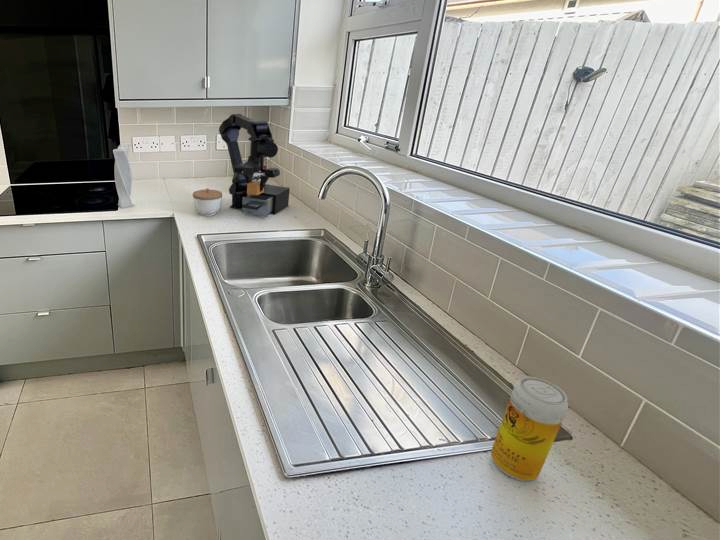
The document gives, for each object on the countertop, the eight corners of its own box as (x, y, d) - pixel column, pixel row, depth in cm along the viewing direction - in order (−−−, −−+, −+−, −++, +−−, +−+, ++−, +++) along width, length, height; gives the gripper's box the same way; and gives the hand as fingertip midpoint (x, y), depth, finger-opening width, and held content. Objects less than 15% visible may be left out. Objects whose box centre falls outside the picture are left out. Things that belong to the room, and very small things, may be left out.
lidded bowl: (192, 209, 182) (191, 185, 178) (220, 208, 183) (220, 184, 179) (193, 218, 170) (193, 193, 166) (223, 217, 171) (224, 192, 167)
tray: (261, 219, 166) (262, 204, 163) (237, 215, 172) (237, 199, 169) (279, 208, 179) (280, 194, 177) (256, 204, 185) (256, 190, 183)
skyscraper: (130, 202, 192) (125, 142, 182) (137, 205, 187) (132, 144, 176) (114, 204, 188) (109, 143, 178) (121, 208, 182) (115, 146, 172)
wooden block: (246, 193, 169) (247, 183, 168) (253, 190, 174) (254, 180, 172) (257, 195, 167) (257, 185, 165) (263, 192, 171) (264, 182, 170)
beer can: (480, 450, 65) (506, 376, 59) (515, 447, 66) (544, 373, 60) (509, 485, 59) (541, 407, 54) (548, 482, 60) (583, 404, 54)
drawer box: (275, 214, 175) (276, 195, 172) (249, 209, 181) (249, 190, 178) (288, 205, 186) (289, 187, 183) (263, 201, 193) (264, 184, 189)
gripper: (227, 153, 163) (226, 191, 169) (268, 159, 153) (266, 198, 159) (241, 149, 171) (240, 185, 177) (281, 154, 162) (278, 192, 168)
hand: (255, 190), depth 170 cm, fingers closed on wooden block, 5 cm apart
